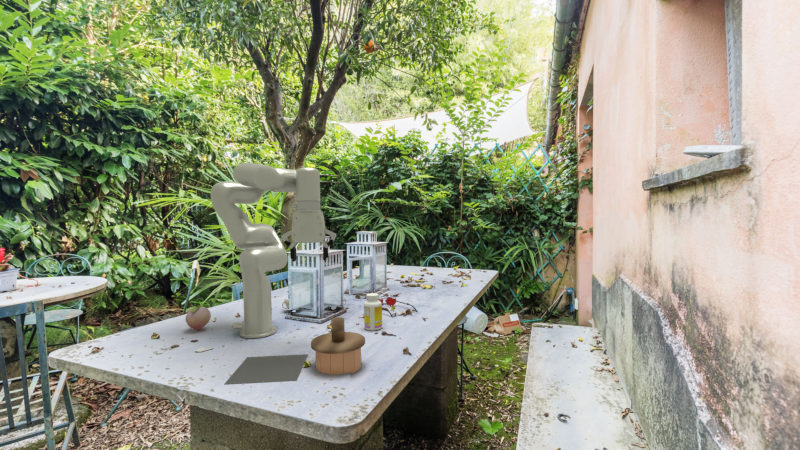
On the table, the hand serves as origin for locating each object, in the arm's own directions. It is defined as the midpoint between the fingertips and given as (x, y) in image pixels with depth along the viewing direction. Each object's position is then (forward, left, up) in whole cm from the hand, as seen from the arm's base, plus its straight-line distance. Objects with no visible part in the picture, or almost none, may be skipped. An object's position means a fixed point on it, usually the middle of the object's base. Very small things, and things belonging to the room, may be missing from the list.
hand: (309, 260), depth 119 cm
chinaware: (-7, +52, -29) cm, 60 cm away
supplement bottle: (+20, +18, -28) cm, 39 cm away
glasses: (+29, +42, -29) cm, 59 cm away
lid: (+10, -16, -22) cm, 29 cm away
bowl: (+10, -16, -28) cm, 34 cm away
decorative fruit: (-46, +25, -28) cm, 60 cm away
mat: (-9, -16, -28) cm, 34 cm away
